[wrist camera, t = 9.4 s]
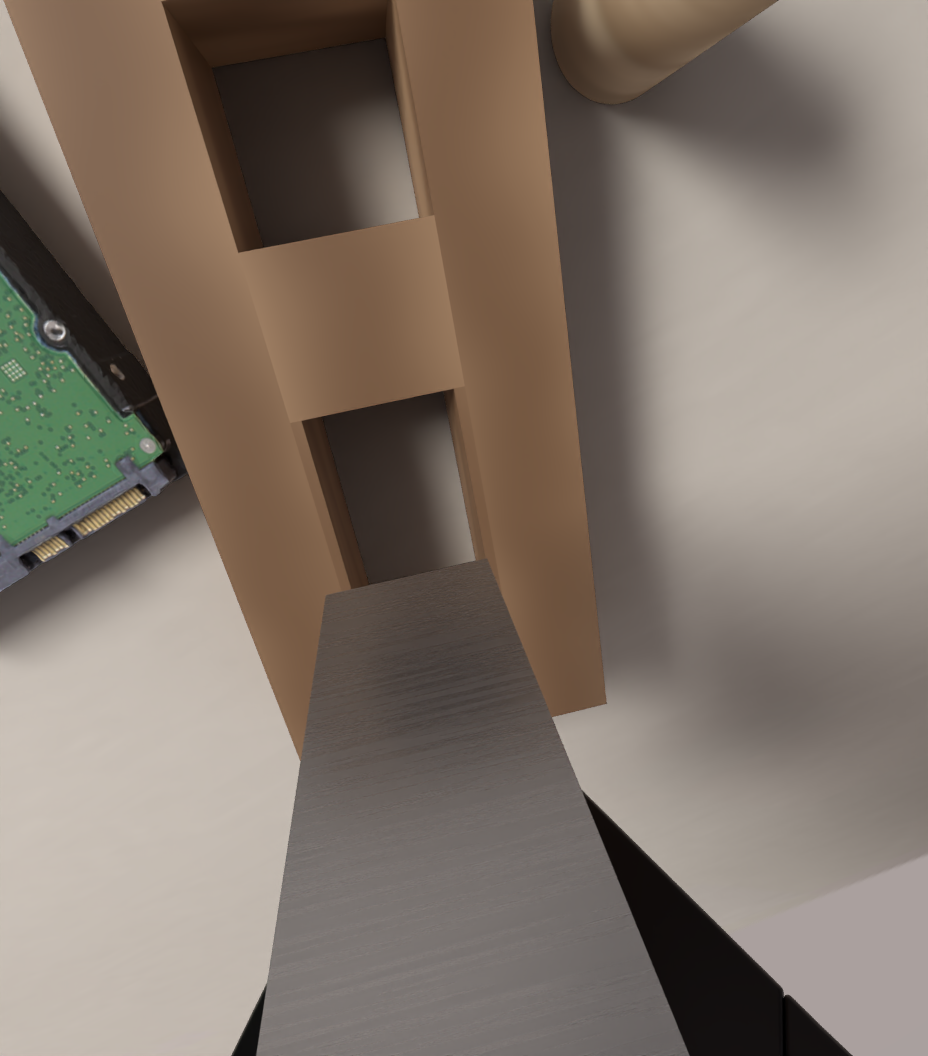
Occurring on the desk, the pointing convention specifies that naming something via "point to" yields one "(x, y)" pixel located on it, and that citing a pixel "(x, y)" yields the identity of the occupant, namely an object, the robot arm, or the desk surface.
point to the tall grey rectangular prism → (447, 851)
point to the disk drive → (67, 412)
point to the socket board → (339, 300)
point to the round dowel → (638, 40)
